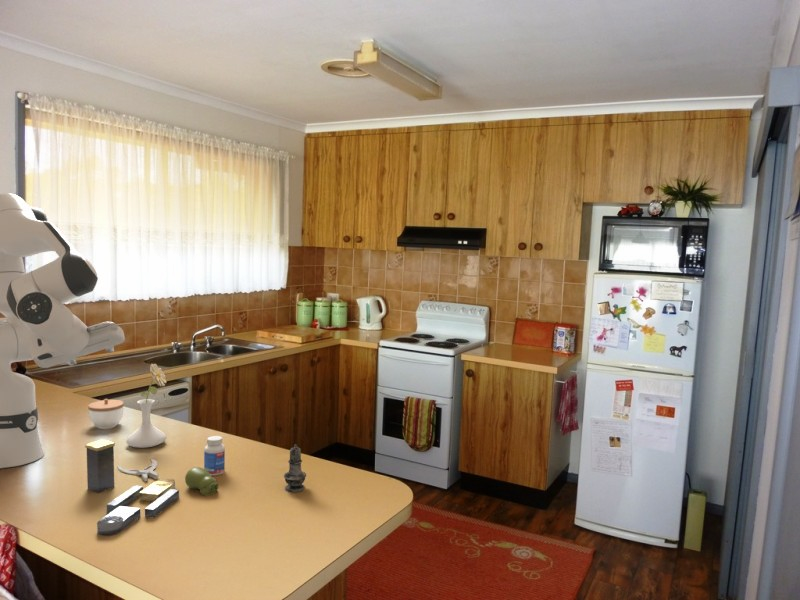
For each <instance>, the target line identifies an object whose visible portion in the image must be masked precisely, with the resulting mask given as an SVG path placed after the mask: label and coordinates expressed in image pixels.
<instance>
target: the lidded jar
mask: <svg viewBox="0 0 800 600" xmlns="http://www.w3.org/2000/svg"><path fill="white" fill-rule="evenodd" d="M124 405H125V403H124V401H123V400H120V399H108V398H104V399H103V400H96V401H93V402H91V403H89V404H88V406H87V408H88V415H89V416H88V417H89V419H90V422H91V423H92V424H93V426H94V427H96V429H99V430H106V429H107V430H110V429H113V428H116V427H117V425H118V424H119V423H120V421H122V418H123V415H124Z"/></svg>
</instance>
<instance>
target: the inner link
mask: <svg viewBox="0 0 800 600" xmlns="http://www.w3.org/2000/svg"><path fill="white" fill-rule="evenodd" d="M170 489H175V490H176V480H175V479H174V478H171V477H164V478H160V479H159V478H158V479H157V480H155V481H153V482H152V483H151V484H150V485H148V486H147V487H145V488H143V490H142V491H141V492H139V497H138V498H139V501H143V502H150V501H153V502H154V501H156V500H157V499H158V498H160V497H161V496H162V495H164V494H165V493H166V492H168V491H169V490H170ZM153 502H152V503H153Z"/></svg>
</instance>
